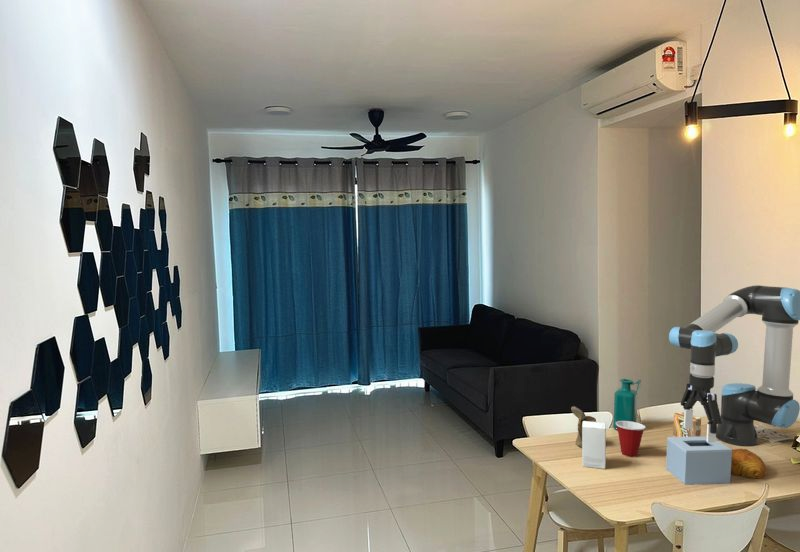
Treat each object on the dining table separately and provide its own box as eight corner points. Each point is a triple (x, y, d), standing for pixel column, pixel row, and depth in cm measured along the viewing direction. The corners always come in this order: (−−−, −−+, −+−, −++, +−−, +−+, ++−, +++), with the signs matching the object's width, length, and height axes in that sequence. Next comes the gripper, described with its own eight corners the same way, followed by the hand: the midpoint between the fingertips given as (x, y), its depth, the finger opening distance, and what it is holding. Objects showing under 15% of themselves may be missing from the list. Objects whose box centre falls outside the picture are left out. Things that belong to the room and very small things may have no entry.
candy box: (700, 456, 209) (702, 417, 208) (694, 458, 207) (696, 419, 205) (677, 448, 216) (679, 411, 215) (671, 451, 214) (673, 413, 213)
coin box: (708, 468, 199) (710, 436, 197) (730, 483, 187) (731, 449, 186) (666, 469, 198) (667, 437, 197) (684, 484, 186) (686, 450, 185)
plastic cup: (646, 452, 213) (648, 422, 212) (641, 461, 204) (643, 431, 203) (617, 446, 219) (618, 417, 218) (611, 455, 210) (612, 425, 209)
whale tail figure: (563, 446, 218) (564, 403, 217) (584, 439, 226) (586, 397, 225) (582, 454, 211) (583, 409, 210) (603, 446, 219) (604, 402, 217)
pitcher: (612, 429, 237) (613, 380, 235) (616, 423, 244) (618, 375, 242) (636, 434, 232) (638, 383, 230) (640, 428, 239) (641, 379, 237)
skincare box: (605, 462, 203) (606, 422, 202) (605, 470, 197) (606, 428, 196) (581, 459, 206) (582, 419, 205) (581, 466, 200) (582, 425, 199)
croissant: (755, 469, 203) (755, 447, 203) (772, 481, 188) (773, 458, 188) (712, 463, 207) (712, 442, 207) (725, 475, 192) (726, 453, 192)
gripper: (671, 366, 201) (669, 421, 203) (713, 385, 176) (710, 448, 178) (691, 366, 202) (689, 421, 203) (736, 385, 177) (732, 448, 179)
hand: (699, 434), depth 191 cm, fingers open, 13 cm apart
